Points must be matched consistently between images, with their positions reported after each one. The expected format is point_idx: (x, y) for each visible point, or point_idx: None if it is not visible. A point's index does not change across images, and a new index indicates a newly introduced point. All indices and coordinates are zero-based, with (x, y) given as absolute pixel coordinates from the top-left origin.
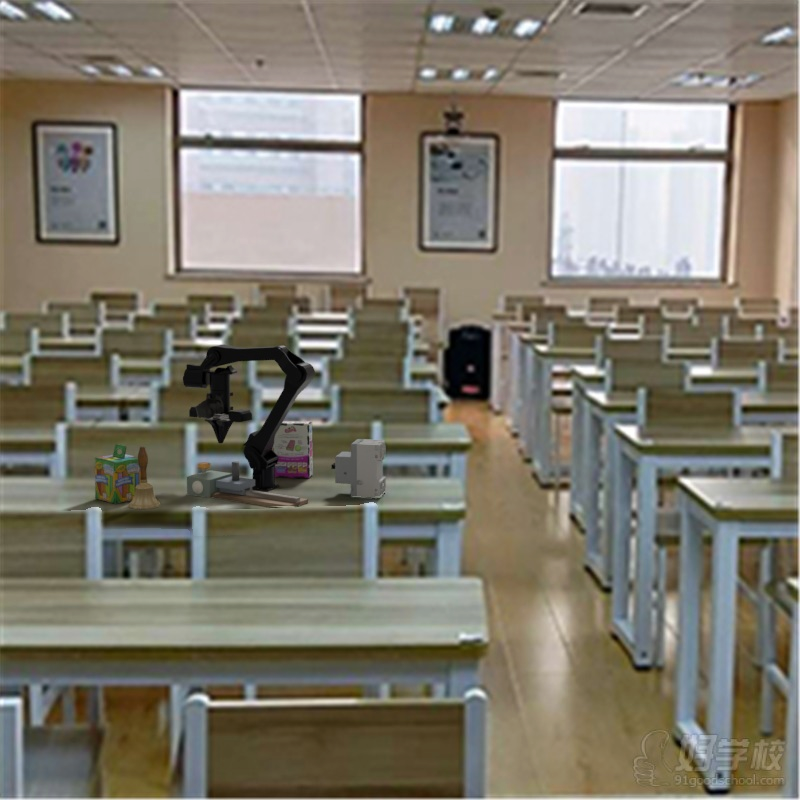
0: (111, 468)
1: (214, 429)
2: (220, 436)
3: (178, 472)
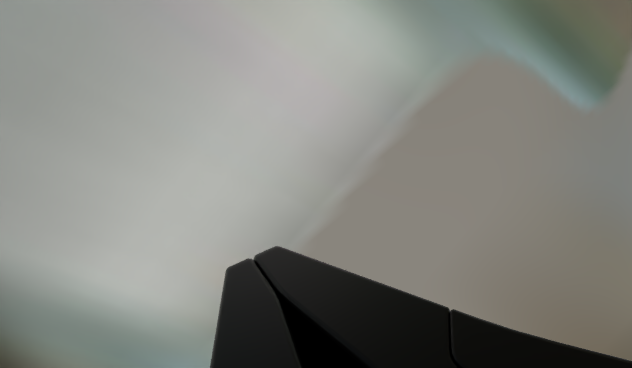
0: None
1: (488, 356)
2: (233, 344)
3: (624, 59)
